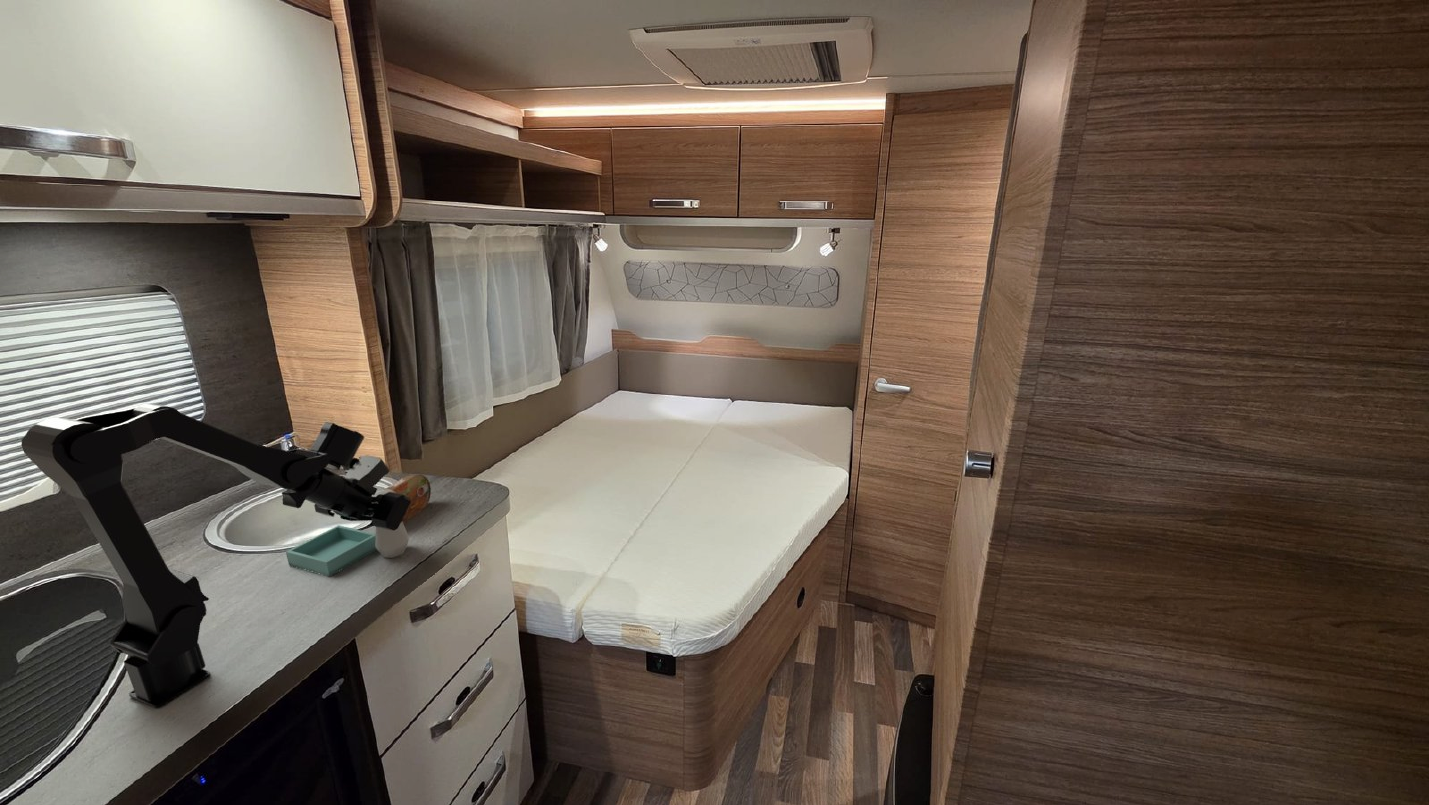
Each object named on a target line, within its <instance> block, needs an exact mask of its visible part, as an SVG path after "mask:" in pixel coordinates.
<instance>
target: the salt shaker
mask: <svg viewBox="0 0 1429 805" xmlns="http://www.w3.org/2000/svg"><path fill="white" fill-rule="evenodd" d="M385 489H386V488H385ZM388 492H392V493H396V492H395V491H393V490H389V489H386V490H384V489H381V490H378V491H376V493H375V495H372V497H376V496H377V495H379V494H382V495H384V494H386V493H388ZM372 503H373V502H372ZM376 503H378V502H376ZM375 534H376V540H375V547H376V549H377V550H376V551H378V552H379V553H380V554H381V555H382V557H383V558H387V559H388V558H391V559H392V558H393V559H394V558H396V557H399V556H401V555H403V554H404V553H405V552H406V549H407V547H408V544H409V539H410V538H409V537H410V536H409V534H408V531H407V529H406V527H405V524H404V523H403V522H402V523H400V525H399V527H398V529H396V530H395V531H393V530H388V529H384V528H381V527H376V526H375Z"/></svg>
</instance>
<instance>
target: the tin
mask: <svg viewBox="0 0 1429 805" xmlns="http://www.w3.org/2000/svg"><path fill="white" fill-rule="evenodd" d="M386 489H389V490H393V491H395V492H396V493H397V494H402V495H405V496H407V497H409V498H410V499H411V503H410V505H409V507H408V509H407V511H406V513H405V515H404V517H403V521H402V522H403V524H404V523H406V522H407V521H409V520H410V519H412V518H413V517H414V516H416V515H417V514H419V513H420V512H421V511H423V510H424V509H425V508H426V507H427V506H428V504H429V501H430V498H431V495H432V492H431V491H432V487H431V484H430V481H429V480H428V478H427V477H426V476H425V475H423V474H410V475H406V476H404V477H402V478H401V479H399V480H398V481H396V482H394V483H392V484H391V485H389V486H388V487H386V488H384V489H383V490H386Z"/></svg>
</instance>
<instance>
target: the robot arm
mask: <svg viewBox="0 0 1429 805" xmlns="http://www.w3.org/2000/svg"><path fill="white" fill-rule="evenodd" d="M158 439H162V440H164V441H167V442H169V443H173V444H174V445H178V446H181V447H184V448H186V449H188V450H191V451H194V452H198V453H200V454H202V455H205V456H208V457H211V458H214V459H216V460H219V461H222V462H224V463H227V464H229V465H230V466H232V467H234V468H236V469H237V470H238V471H239V472H240V473H241V474H243V475H244V476H246V477H248V478H249V479H251V480H253V481H255V482H256V483H258V484H261V485H266V486H270V487H273V488H275V487H276V488H278V489H283V490H284V491H282V492H281V495H282V505H283V506H286V507H291V508H295V509H301V507H302V506H303V504H304V502H305V501H307V502H310V503H312V504H314V505H313V506H314V510H315V513H318V514H321V515H322V516H327V517H332V518H334V517H335V515H338V516H339V517H340V519H341V520H345V521H350V522H363V521H366V522H368V521H370V523H369V526H371V527H375V528H376V527H381V528H384V529H388V530H393V531H395V530H396V529H398V527H399V525H400V523H402V521H403V517H404V515H405V513H406V511H407V509H408V507H409V505H410V503H411V499H410V498H409V497H407V496H405V495H402V494H397V493H392V492H388V493H386V494H384V495H382V494H379V495H377V496H376V497H372V495H375V493H376V492H377V490H378V488H377V487H375V486H376V485H377V484H378V483H379V482H380V481H381V480H383V478H384V477H385V476H387V475H388V474H389V473H390V471H391V470H390V467H388V466H387V464H386V463H385V462H384V460H383V459H382V458H381V457H380V456H373V455H363V456H362V455H359V456H358V458H356V457H355V455H356V454H357V452H358V450H359V448H360V447H361V445H362V443H363V441H364V439H365V436H364V435H363V434H362V433H360V432H359V431H356V430H351V429H349V428H346V427H344V426H341V425H338V424H336V423H334V422H327V421H326V422H324V423H323V425H322V426H321V428H320V432H319V434H318V435H317V437H316V439H315V440H314V442H313V444H312V446H310V449H309V450H308V449H304V448H294V449H293V448H292V449H289V450H284V449H280V448H276V447H275V448H274V447H270V446H265V445H262V444H261V445H260V444H256V443H254V442H252V441H249V440H246V439H244V438H242V437H239V436H237V435H235V434H232V433H230V432H227V431H225V430H223V429H220V428H218V427H216V426H213V425H210V424H208V423H207V422H204V421H201V420H198V419H196V418H194V417H191V416H189V415H186V414H184V413H182V412H180V411H179V410H178V409H176V408H175V407H173V406H167V405H162V404H155V403H144V404H141V405H138V406H135V407H134V406H133V407H130V408H126V409H121V410H117V411H116V410H115V411H110V412H104V413H98V414H92V415H86V416H83V417H79V418H74V419H71V418H66V417H65V418H64V417H53V418H48V419H45V420H43V421H42V420H41V421H40V422H38V423H35V424H34V425H33V426H32V427H31V428H29V429H28V430H27V432H26V433H25V435H24V437H23V438H21V443H20V444H21V448H22V451H23V453H24V454H25V455H26V457H27V458H28V459H29V460H30V461H31V462H32V463H33V464H34V465H35V466H36V467H37V468H38V469H39V470H40V471H41V472H42V473H43V474H44V475H45V476H46V477H47V478H49V479H50V480H52V481H53V482H54V483H55V484H57V485H58V486H59V487H60V488H61V489H63V490H64V491H65V492H66V493H68V494H69V496H71V498H72V499H73V502H74V503H75V505H76V507H77V509H78V510H79V512H80V513H81V515H82V517H83V518H84V520H85V521H86V523H87V525H88V526H89V529H90V530H91V532H92V533H93V535H94V537H95V539H96V540H97V542H98V544H99V546H100V547H101V548H102V551H103V552H104V554H105V555H106V557H107V559H108V560H109V563H110V564H111V565H112V567H113V569H114V571H115V572H116V575H117V576H118V577H119V579H120V580H121V582H122V585H123V588H122V589H123V590H122V597H121V603H122V607H123V610H124V614H125V620H124V621H123V623H122V624H121V625H120V627H119V629H118V630H117V632H116V633H115V634H114V636H113V637H112V639H111V640H110V642H109V646H110V647H112V648H113V649H114V650H116V651H117V652H118V653H120V654H125V655H127V656H129V657H128V658H127V659H125V660H124V661H123V664H124V667H125V668H126V672H127V675H128V678H129V681H130V683H131V685H132V688H133V689H132V690H131V691H129V693H128V696H129V697H130V698H132V699H134V700H137V701H139V702H141V703H144V704H145V705H148V706H150V707H152V708H154V709H157V708H161V707H163V706H165V705H166V704H168V703H169V702H171V701H172V700H174V699H176V698H177V697H179V696H181V695H182V694H184V693H186V692H187V691H188V690H190V689H191V688H193V687H195V686H196V685H198V684H200V683H201V682H203V681H205V680H206V679H208V678H210V677H211V672H210V671H209V670H207V669H205V667H206V662H205V659H204V657H203V656H204V655H203V653H202V650H201V645H200V644H199V643H198V641H199V636H200V629H201V624H202V622H203V619H204V617H205V616H207V612H208V611H207V606H206V604H205V602H207V601H209V600H210V598H209V597H207V596H206V595H205V594H204V593H203V592H202V590H201V586H200V582H199V580H198V579H197V578H198V577H196V576H194V575H191V574H187V573H184V572H181V571H178V570H176V569H175V570H174V569H171V568H169V567H168V565H167V563H166V561H165V560H164V558H163V557H162V553H161V552H160V550H159V549H158V546H157V545H156V543H155V542H154V540H153V538H152V536H151V534H150V533H149V530H148V529H147V527H146V525H145V523H144V522H143V519H142V518H141V516H140V514H139V512H138V511H137V509H136V506H135V504H134V503H133V501H132V500H131V497H130V496H129V494H128V492H127V490H126V489H125V487H124V484H123V480H122V478H123V472H124V471H123V469H124V460H123V459H124V458H123V456H122V455H124V454H127V453H131V452H134V451H137V450H139V449H141V448H143V447H144V446H146V445H149V444H150V443H151V442H154V441H156V440H158ZM327 468H330V469H333V470H338V471H340V469H341V468H343V472H344V473H345V474H344V476H342V475H339V474H337V473H335V472H334V471H331V470H329V469H327ZM372 502H373V503H372ZM376 502H378V503H376Z"/></svg>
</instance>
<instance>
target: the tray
mask: <svg viewBox="0 0 1429 805" xmlns="http://www.w3.org/2000/svg"><path fill="white" fill-rule="evenodd" d="M375 540H376V533H373V532H370V531H365V530H361V529H356V528H352V527H347V526H344V525H340V524H339V525H338V524H337V525H336V526H334V527H332V528H330V529H328V530H326V531H324V532H322V533H320V534H318V535H316V536H314V537H313V538H310V539H309V540H306V541H305V542H303V543H300V544H298V545H296V546H294V547H292V548H290V549H288V550H286V551H285V556H286V559H287V562H288V566H289V565H290V566H289V567H292V566H293V568H296V567H297V568H296V569H299V568H301V569H300V570H303V569H306V570H305V571H307V570H309V571H308V572H310V571H313V572H312V573H314V572H316V573H315V574H317V573H320V574H319V575H321V574H323V575H322V576H325V575H326V577H328V576H330V577H332V576H333V574H334V575H335V574H337V573H339V572H340V571H339V570H341V569H342V570H344V569H346V568H348V567H349V566H351V565H353V564H355V563H356V562H358V561H360V560H361V559H363V558H365V557H367V556H368V555H370V554H371V553H373V552H375V551H378V550H377V549H376V547H375ZM357 560H358V561H357ZM342 570H341V571H342ZM338 571H339V572H338ZM336 572H337V573H336ZM331 575H332V576H331Z"/></svg>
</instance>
